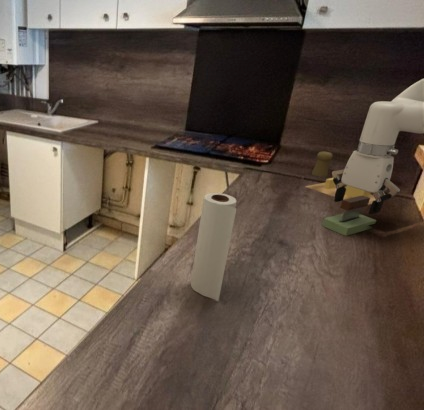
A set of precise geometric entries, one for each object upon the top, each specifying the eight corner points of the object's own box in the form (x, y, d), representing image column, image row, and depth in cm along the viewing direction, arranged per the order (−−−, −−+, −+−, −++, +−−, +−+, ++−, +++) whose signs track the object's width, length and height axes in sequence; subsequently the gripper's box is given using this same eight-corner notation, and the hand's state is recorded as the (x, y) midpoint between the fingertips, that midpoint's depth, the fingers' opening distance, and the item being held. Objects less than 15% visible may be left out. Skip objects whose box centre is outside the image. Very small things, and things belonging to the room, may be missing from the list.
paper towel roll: (191, 277, 82) (205, 190, 73) (219, 283, 80) (236, 194, 71) (188, 295, 76) (202, 202, 67) (218, 302, 74) (236, 207, 65)
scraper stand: (373, 227, 105) (376, 220, 104) (345, 236, 101) (348, 228, 100) (349, 218, 111) (351, 211, 110) (321, 225, 106) (324, 218, 106)
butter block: (368, 198, 122) (372, 189, 121) (361, 200, 121) (364, 191, 119) (350, 192, 127) (353, 183, 126) (343, 194, 126) (346, 185, 124)
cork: (323, 181, 142) (331, 154, 138) (307, 177, 147) (314, 151, 142) (329, 178, 146) (337, 152, 142) (313, 174, 150) (320, 149, 146)
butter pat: (334, 187, 132) (337, 178, 131) (327, 189, 131) (330, 180, 129) (330, 186, 133) (333, 177, 132) (323, 187, 132) (326, 178, 130)
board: (385, 203, 122) (387, 199, 122) (360, 210, 117) (361, 206, 116) (328, 185, 139) (329, 181, 138) (304, 190, 134) (305, 186, 133)
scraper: (360, 225, 107) (370, 197, 103) (341, 231, 103) (350, 202, 100) (352, 222, 109) (362, 195, 105) (333, 227, 105) (342, 199, 102)
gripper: (420, 155, 91) (396, 216, 98) (350, 141, 105) (333, 194, 112) (402, 159, 88) (379, 221, 95) (333, 143, 102) (317, 198, 109)
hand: (355, 207), depth 103 cm, fingers open, 9 cm apart
